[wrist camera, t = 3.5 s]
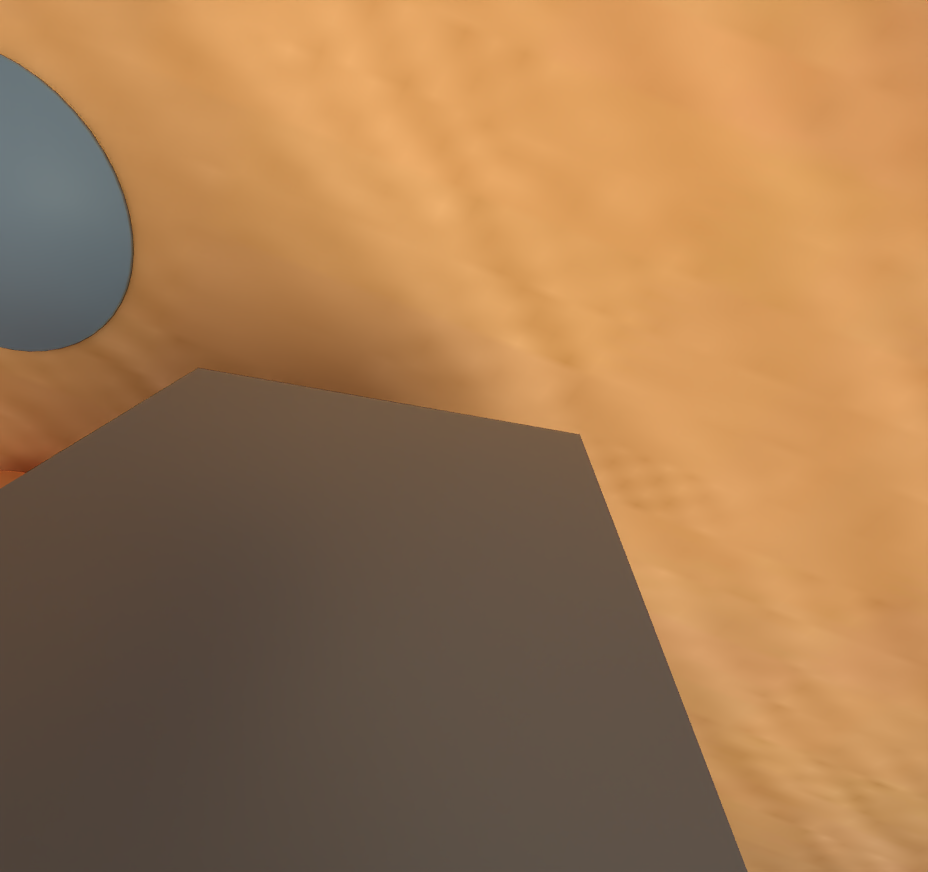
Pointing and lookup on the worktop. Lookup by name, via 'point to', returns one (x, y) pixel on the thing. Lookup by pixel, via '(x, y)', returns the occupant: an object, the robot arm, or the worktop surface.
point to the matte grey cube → (333, 650)
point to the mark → (55, 220)
